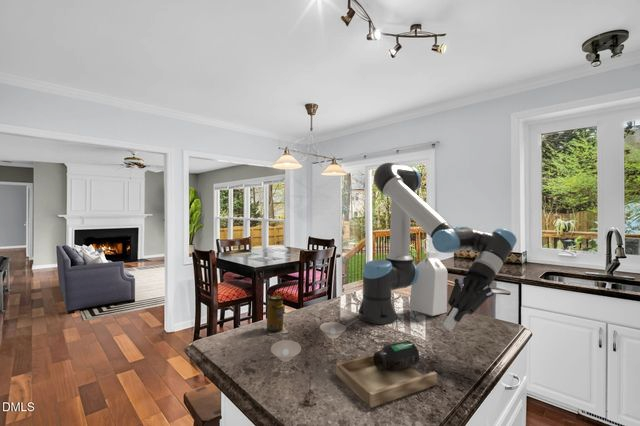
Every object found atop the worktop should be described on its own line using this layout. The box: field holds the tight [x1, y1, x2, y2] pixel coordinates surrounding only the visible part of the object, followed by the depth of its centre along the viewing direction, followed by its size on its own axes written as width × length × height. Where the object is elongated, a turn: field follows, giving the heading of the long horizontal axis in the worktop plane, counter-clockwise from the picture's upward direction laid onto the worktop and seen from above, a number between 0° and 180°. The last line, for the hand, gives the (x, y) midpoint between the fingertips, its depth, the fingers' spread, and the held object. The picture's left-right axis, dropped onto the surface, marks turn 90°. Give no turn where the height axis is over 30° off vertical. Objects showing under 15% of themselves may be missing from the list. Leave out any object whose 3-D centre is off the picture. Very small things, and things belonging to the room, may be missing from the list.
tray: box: [335, 353, 438, 408], centre depth 84 cm, size 21×16×3 cm
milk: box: [408, 251, 449, 317], centre depth 140 cm, size 12×12×26 cm
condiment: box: [262, 295, 289, 336], centre depth 116 cm, size 7×8×12 cm
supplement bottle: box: [373, 340, 420, 372], centre depth 89 cm, size 7×7×12 cm
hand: (446, 327), depth 95 cm, fingers closed
